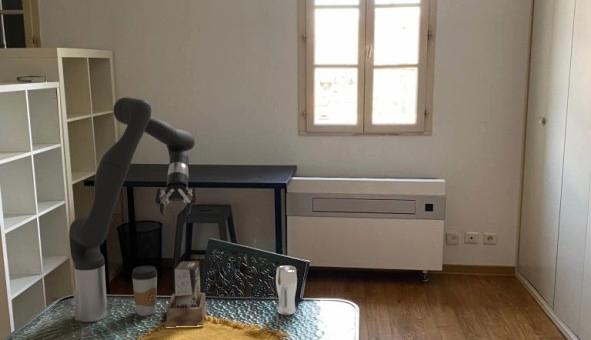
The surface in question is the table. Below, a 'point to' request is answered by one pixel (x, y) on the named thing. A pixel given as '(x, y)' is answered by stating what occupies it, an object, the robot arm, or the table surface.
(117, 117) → the robot arm
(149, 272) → the coffee cup
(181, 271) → the coffee box
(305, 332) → the table surface
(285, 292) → the beer glass
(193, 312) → the brown open box holder
